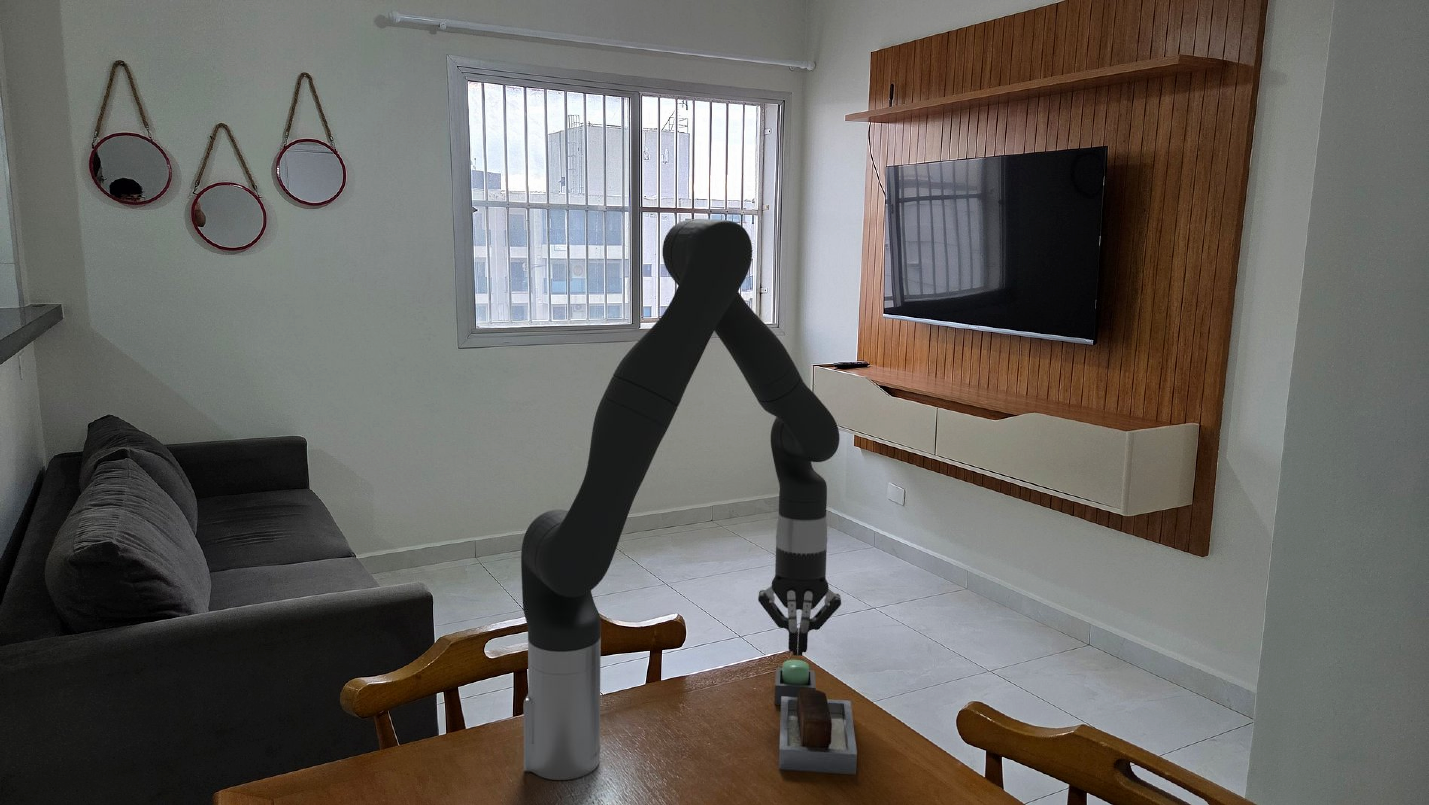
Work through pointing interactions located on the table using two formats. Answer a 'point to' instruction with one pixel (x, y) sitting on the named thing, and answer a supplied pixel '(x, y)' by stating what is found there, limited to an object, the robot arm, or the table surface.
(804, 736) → the brick
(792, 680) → the button
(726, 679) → the table surface
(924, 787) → the table surface
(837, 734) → the tray
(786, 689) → the button box
